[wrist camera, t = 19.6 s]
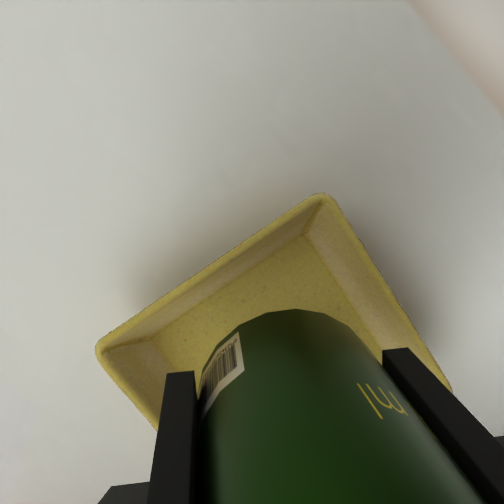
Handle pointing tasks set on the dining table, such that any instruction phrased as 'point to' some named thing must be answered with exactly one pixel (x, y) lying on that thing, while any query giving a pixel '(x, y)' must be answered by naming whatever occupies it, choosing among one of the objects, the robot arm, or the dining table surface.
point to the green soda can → (313, 422)
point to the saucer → (260, 302)
